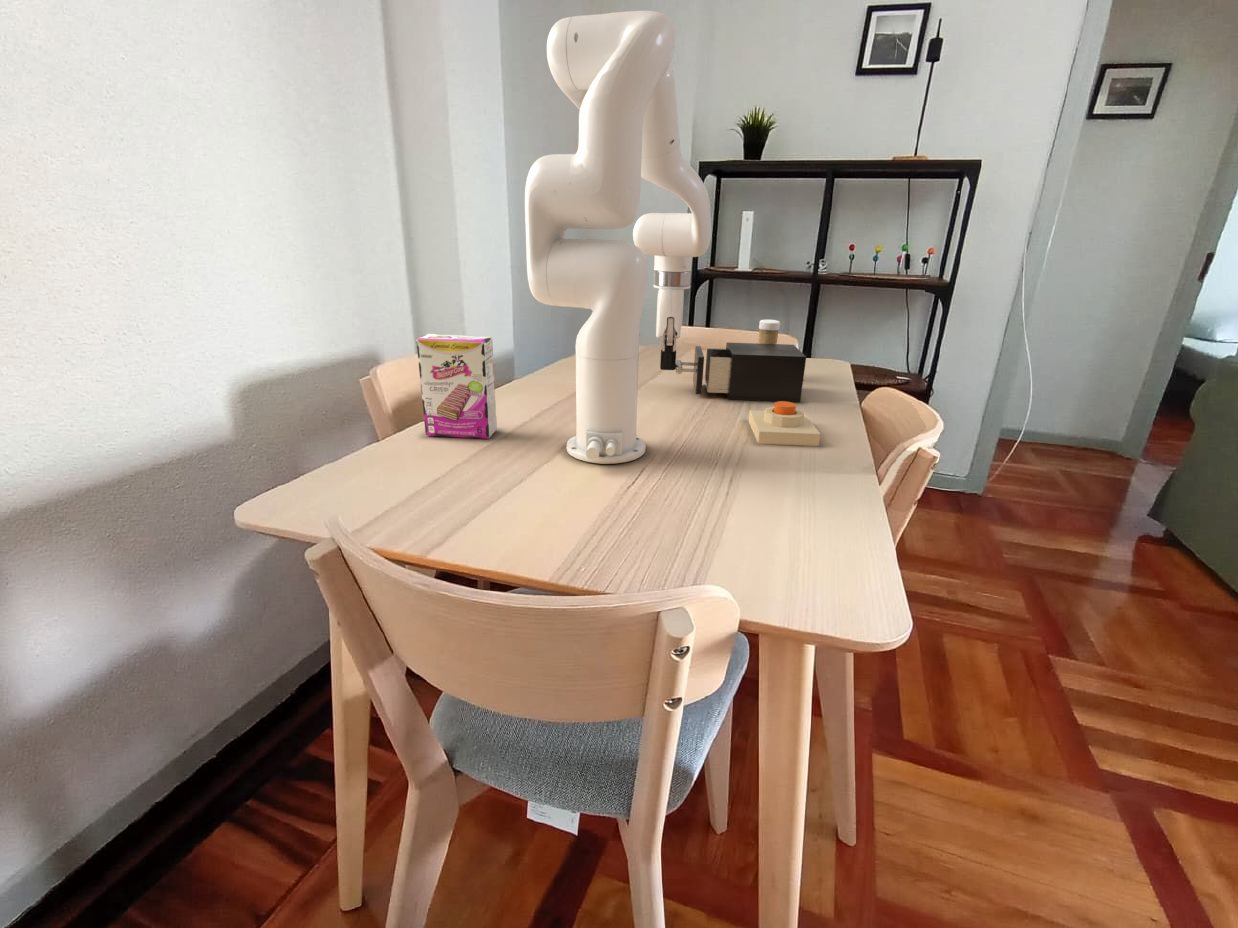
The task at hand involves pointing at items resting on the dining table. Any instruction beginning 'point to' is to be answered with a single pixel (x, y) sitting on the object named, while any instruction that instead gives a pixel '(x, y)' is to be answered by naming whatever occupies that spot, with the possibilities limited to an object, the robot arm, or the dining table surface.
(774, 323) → the sprinkles bottle
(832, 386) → the dining table surface
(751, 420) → the cream button base
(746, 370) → the black drawer cabinet
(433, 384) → the candy bar box
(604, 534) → the dining table surface
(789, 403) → the button
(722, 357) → the drawer with knob
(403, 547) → the dining table surface
